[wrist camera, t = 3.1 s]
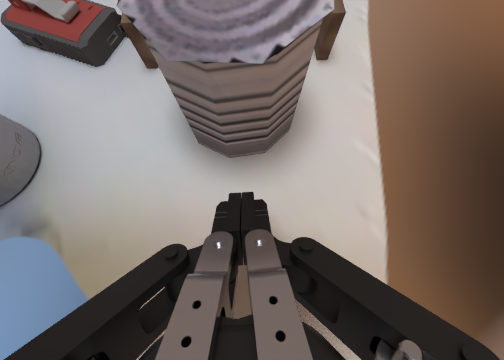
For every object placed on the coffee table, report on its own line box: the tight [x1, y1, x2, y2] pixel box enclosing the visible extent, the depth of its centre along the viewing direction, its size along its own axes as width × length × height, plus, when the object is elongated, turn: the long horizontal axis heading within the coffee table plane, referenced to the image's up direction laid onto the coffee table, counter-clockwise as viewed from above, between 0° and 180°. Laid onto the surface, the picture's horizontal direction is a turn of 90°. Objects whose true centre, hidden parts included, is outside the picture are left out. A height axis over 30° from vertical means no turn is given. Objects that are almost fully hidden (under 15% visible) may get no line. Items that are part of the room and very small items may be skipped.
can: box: [117, 0, 334, 158], centre depth 16 cm, size 11×11×12 cm
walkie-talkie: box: [1, 0, 127, 67], centre depth 24 cm, size 9×4×20 cm
